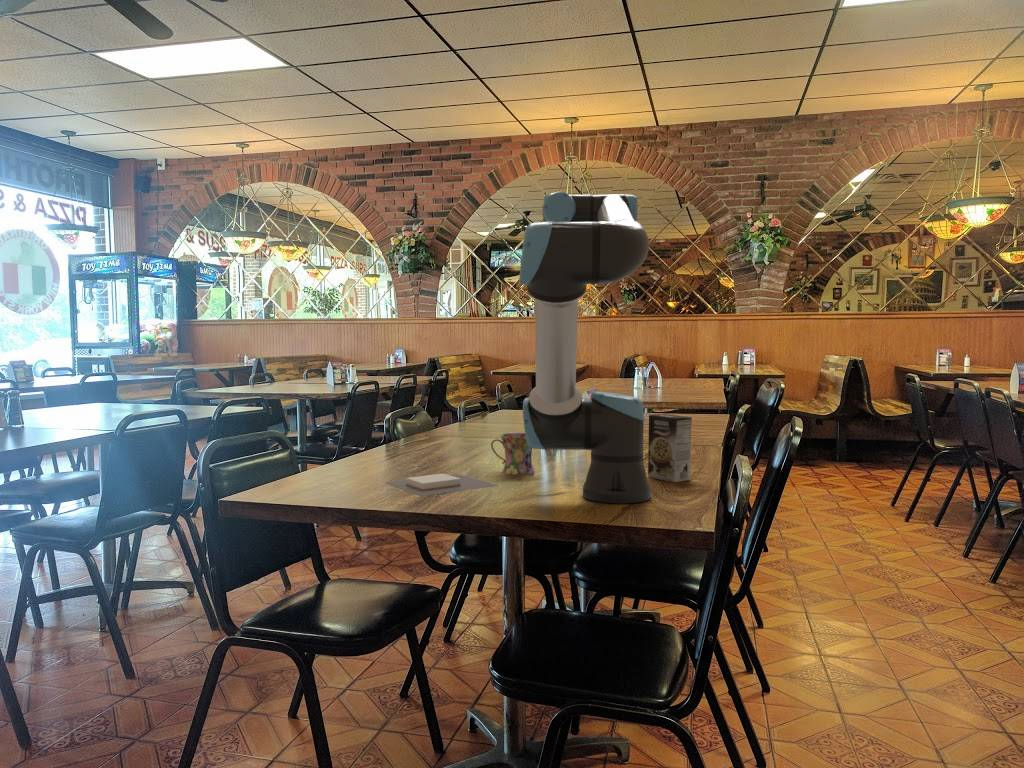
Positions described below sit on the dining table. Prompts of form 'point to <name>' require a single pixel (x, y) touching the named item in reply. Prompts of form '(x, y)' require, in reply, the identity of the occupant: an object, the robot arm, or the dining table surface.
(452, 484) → the tile
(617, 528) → the dining table surface
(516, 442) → the mug
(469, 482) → the slate board
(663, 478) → the cookie box
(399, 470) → the dining table surface
